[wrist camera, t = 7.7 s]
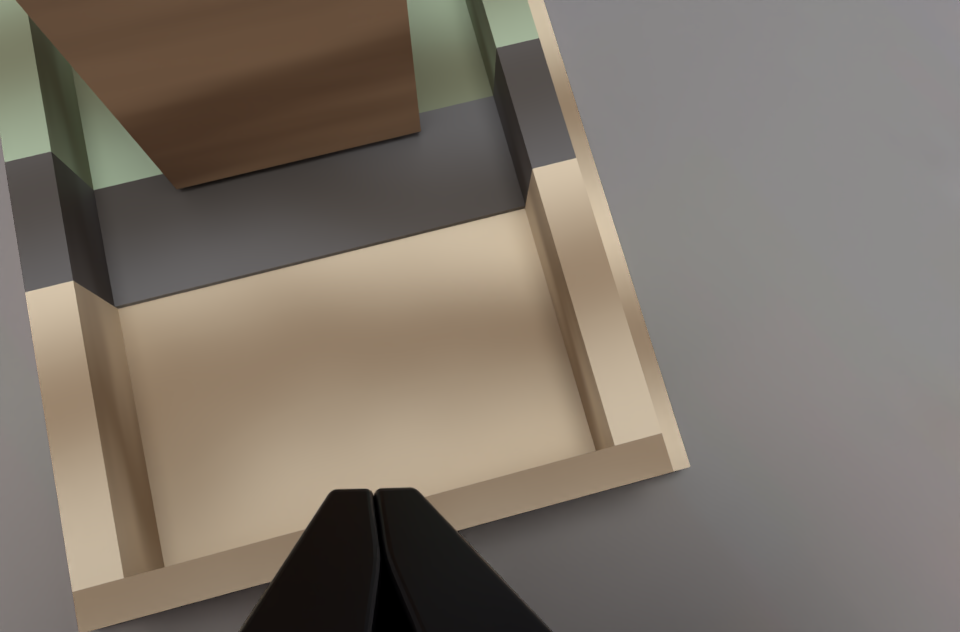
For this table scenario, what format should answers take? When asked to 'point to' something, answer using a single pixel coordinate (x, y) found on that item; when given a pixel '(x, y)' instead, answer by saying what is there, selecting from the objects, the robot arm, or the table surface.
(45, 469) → the table surface
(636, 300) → the beige flat tray
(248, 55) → the walnut block
